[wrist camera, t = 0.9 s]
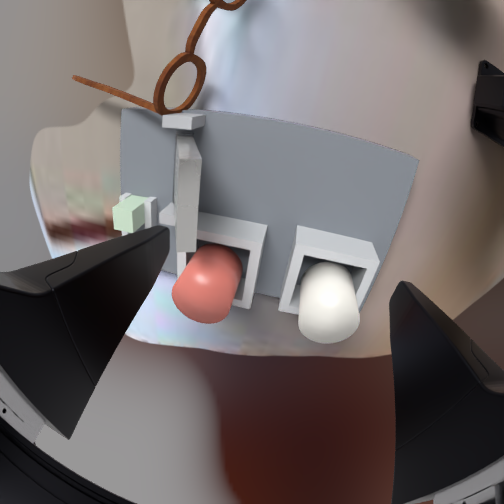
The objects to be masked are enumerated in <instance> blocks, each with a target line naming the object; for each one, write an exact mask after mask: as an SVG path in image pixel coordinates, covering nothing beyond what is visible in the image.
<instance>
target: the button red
mask: <svg viewBox="0 0 504 504" xmlns="http://www.w3.org/2000/svg"><path fill="white" fill-rule="evenodd" d="M242 272H243V266H242V263H241V260H240V258H239V257H238V255H237V254H236V253H235V252H234V251H233V250H231V249H230V248H228V247H226V246H224V245H221V244H206V245H203V246H201V247H200V248H199V249H198V250H197V251H196V252H195V254H194V255H193V257H192V258H191V260H190V261H189V263H188V264H187V266H186V267H185V269H184V270H183V272H182V274H181V275H180V277H179V278H178V280H177V281H176V283H175V284H174V286H173V289H172V298H173V301H174V303H175V305H176V307H177V308H178V309H179V310H180V311H181V312H182V313H183V314H184V315H185V316H187V317H188V318H190V319H192V320H194V321H197V322H200V323H206V324H211V323H217V322H220V321H222V320H223V319H224V318H225V317H226V316H227V315H228V313H229V311H230V308H231V305H232V302H233V299H234V296H235V293H236V290H237V288H238V285H239V282H240V279H241V276H242Z"/></svg>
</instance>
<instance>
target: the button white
mask: <svg viewBox="0 0 504 504" xmlns="http://www.w3.org/2000/svg"><path fill="white" fill-rule="evenodd" d="M359 322H360V316H359V311H358V305H357V300H356V295H355V289H354V285H353V280H352V276H351V274H350V272H349V271H348V269H347V268H345V267H344V266H343V265H341V264H338V263H335V262H321V263H317V264H315V265H313V266H311V267H310V268H308V269H307V270H306V271H305V273H304V274H303V276H302V278H301V285H300V304H299V320H298V325H299V329H300V331H301V333H302V334H303V335H304V336H305V337H306V338H308V339H310V340H312V341H314V342H318V343H325V344H328V343H336V342H340V341H342V340H345V339H347V338H348V337H350V336H351V335H352V334H353V333H354V332H355V331H356V330H357V328H358V326H359Z"/></svg>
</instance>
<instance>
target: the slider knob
mask: <svg viewBox="0 0 504 504" xmlns="http://www.w3.org/2000/svg"><path fill="white" fill-rule="evenodd" d="M147 198H148V197H142V196H135V195H130V196H129V197H127V198H126V199H125V200H123V201H122V202H120V203H119V204H117V205H116V206H114V207H113V208H112V209H113V220H114V229H116V230H121V231H125V232H129V233H134V232H135V231H136V230H137V229H139V228H140V227H141V226H142V225H143V224H144V223H145V215H144V201H145V200H146V199H147Z"/></svg>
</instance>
